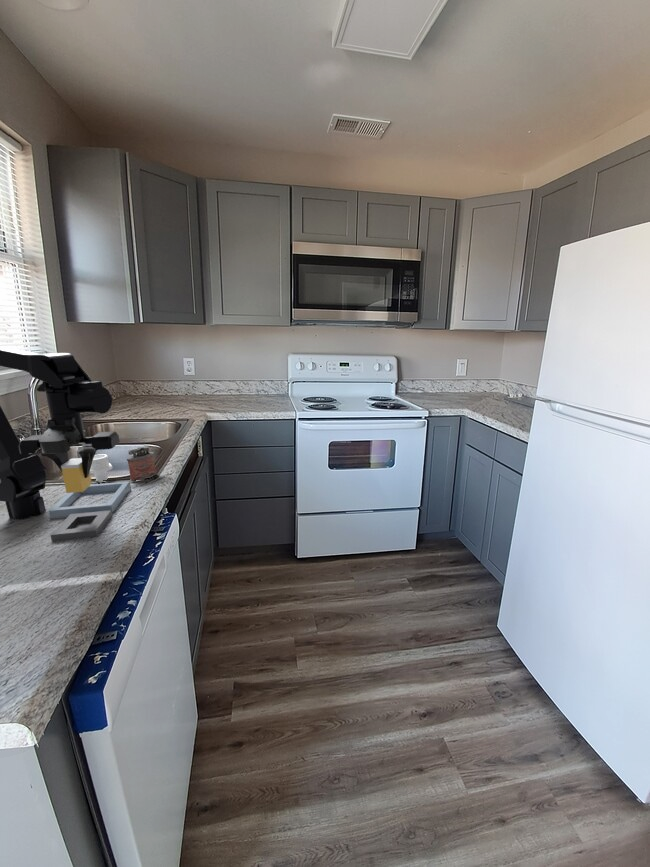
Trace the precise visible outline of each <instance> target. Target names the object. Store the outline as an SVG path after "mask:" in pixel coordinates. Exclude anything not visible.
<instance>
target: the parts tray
mask: <svg viewBox="0 0 650 867" xmlns="http://www.w3.org/2000/svg"><path fill="white" fill-rule="evenodd" d="M131 492H132V486H131V482H130V480H129V481H127V480H126V481H119V482H118V481H117V482H105V483H100V484H98V483H93V484H91V485H90V486H89V487H88V488H87V489H86V490H85V491H83V492H74V493H66V494H65V495H64V496H62V498H61V499H59V501H58V502H57V503H56V504H54V505H53V506H52V507H51V508H50V509H49V510H48V514H49V519H60V518H67V517H68V516H69V515H70V514H77V513H88V512H99V511H110V510H111V513H112V514H113V513H114V512H115V510H116V508H118V506H119V505H120V503H121V502H122V501H123V500H124V499H125V497H126V495H128V493H131ZM108 494H109V495H110V494H113V495H111V497H110V498H109V500H108V501H107V502H104V503H95V504H94V503H93V504H82V505H72V504H73V503H74V501H76V500H77V499H78V498H79V497H85V496H86V497H87V496H97V495H108Z"/></svg>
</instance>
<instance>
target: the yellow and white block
mask: <svg viewBox="0 0 650 867" xmlns="http://www.w3.org/2000/svg"><path fill="white" fill-rule="evenodd" d="M61 468H62V472H61V473H62V477H63V483H64V488H65V493H66V494H68V493H74V492H83V491H85V490H86V489H87V488H88V487H89V486H90V485H91V484H92V482H93V481H92V477H91V474H90V472H89V476H88V477H87V478H85V477H84V473H83V466H82V458H81V457H79V458H78V457H77V458H76V457H75V458H74V457H73V458H70V459H69V460H68V461H67V462H66V463H64V464H63V465H61Z"/></svg>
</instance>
